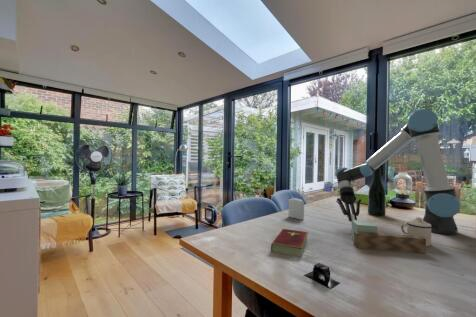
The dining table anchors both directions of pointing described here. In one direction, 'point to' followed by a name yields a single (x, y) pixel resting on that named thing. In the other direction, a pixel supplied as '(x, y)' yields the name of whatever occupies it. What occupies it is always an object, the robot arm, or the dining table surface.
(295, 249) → the hardcover book
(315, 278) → the black tape dispenser
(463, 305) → the dining table surface
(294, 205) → the grey arched block
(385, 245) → the walnut board
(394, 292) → the dining table surface
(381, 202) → the dark green wine bottle
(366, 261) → the dining table surface
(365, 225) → the sage block
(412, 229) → the teacup with lid
